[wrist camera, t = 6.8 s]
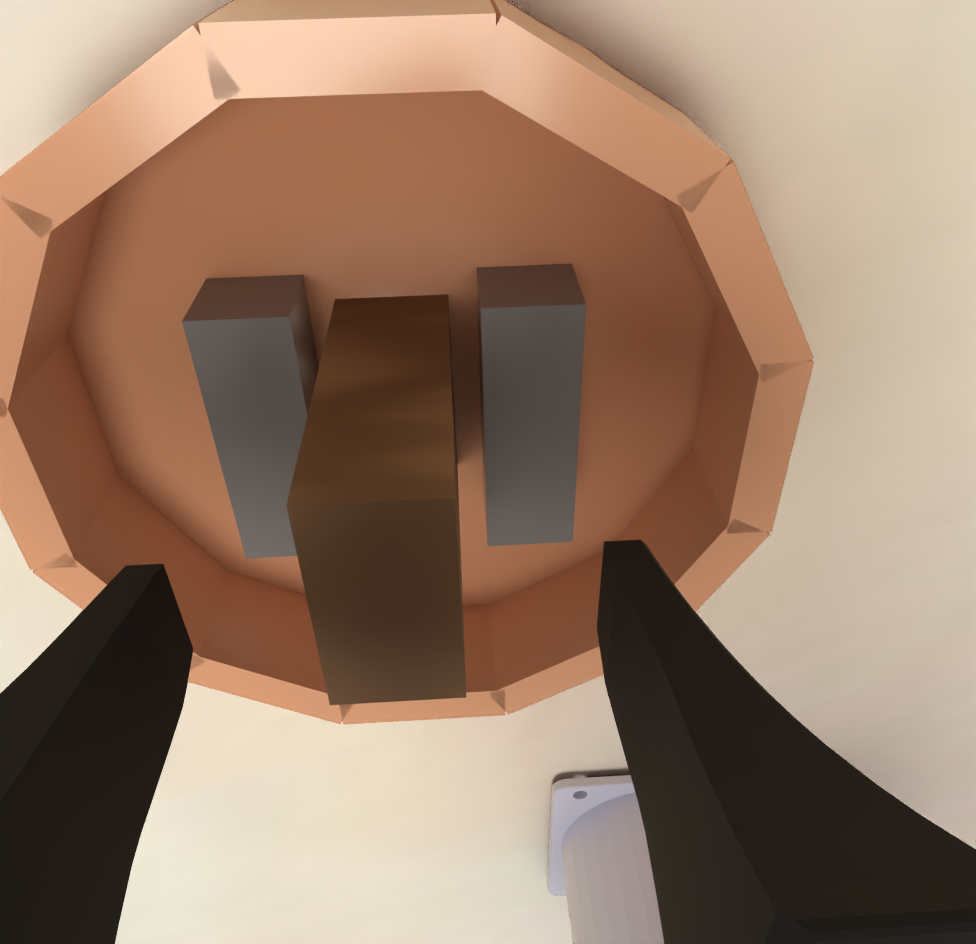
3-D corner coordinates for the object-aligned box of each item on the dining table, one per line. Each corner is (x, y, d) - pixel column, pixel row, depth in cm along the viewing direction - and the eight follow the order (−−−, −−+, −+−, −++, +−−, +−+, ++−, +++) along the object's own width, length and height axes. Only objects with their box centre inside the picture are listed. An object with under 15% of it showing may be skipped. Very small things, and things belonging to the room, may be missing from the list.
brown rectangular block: (448, 294, 17) (455, 497, 12) (457, 465, 20) (466, 697, 14) (334, 298, 17) (286, 505, 11) (359, 469, 20) (329, 705, 14)
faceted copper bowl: (802, -27, 15) (903, 0, 12) (690, 593, 24) (729, 702, 21) (-83, 0, 14) (-231, 36, 11) (155, 621, 24) (112, 737, 21)
